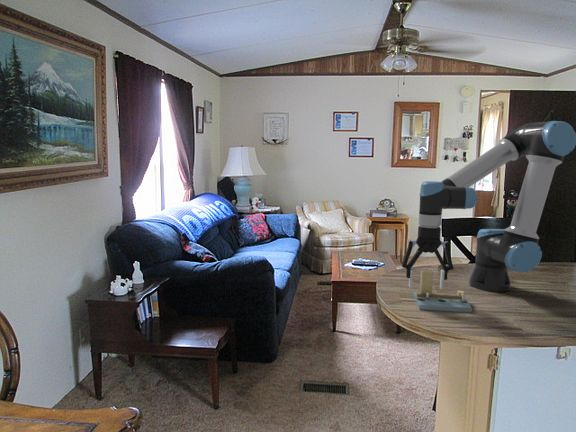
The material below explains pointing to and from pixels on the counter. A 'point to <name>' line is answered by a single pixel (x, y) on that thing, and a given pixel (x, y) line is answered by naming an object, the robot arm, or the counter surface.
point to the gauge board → (443, 302)
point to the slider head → (426, 282)
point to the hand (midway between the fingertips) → (425, 287)
